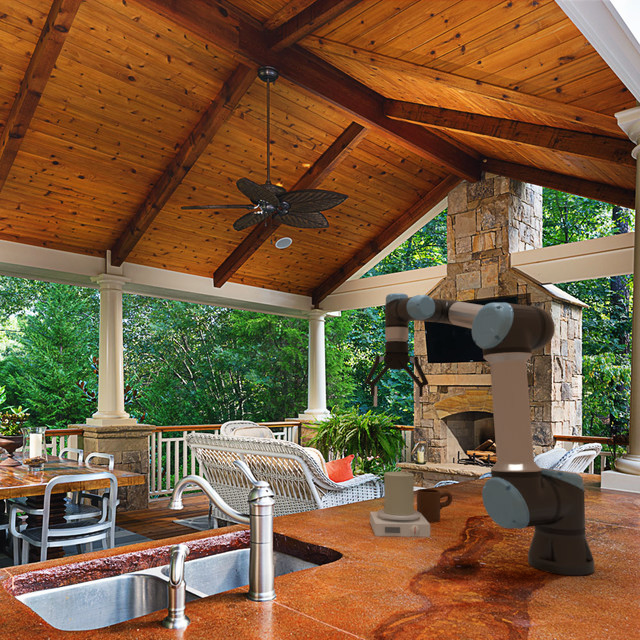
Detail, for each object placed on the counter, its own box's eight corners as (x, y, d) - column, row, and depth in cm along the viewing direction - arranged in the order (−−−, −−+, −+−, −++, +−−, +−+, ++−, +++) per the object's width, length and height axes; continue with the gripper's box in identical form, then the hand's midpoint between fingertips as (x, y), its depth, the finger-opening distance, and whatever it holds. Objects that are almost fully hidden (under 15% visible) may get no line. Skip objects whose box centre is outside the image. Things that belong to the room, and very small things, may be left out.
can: (413, 516, 171) (413, 475, 172) (382, 514, 172) (382, 473, 174) (414, 510, 180) (414, 470, 181) (385, 508, 181) (385, 469, 183)
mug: (448, 517, 194) (448, 488, 195) (456, 522, 187) (456, 492, 188) (413, 517, 192) (413, 488, 193) (420, 522, 185) (420, 492, 186)
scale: (430, 537, 167) (430, 519, 168) (375, 536, 167) (375, 518, 167) (420, 523, 183) (420, 507, 184) (370, 523, 183) (370, 506, 184)
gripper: (432, 342, 192) (432, 407, 189) (357, 341, 192) (356, 405, 189) (437, 341, 184) (437, 408, 182) (359, 339, 184) (358, 406, 182)
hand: (396, 407), depth 186 cm, fingers open, 13 cm apart
